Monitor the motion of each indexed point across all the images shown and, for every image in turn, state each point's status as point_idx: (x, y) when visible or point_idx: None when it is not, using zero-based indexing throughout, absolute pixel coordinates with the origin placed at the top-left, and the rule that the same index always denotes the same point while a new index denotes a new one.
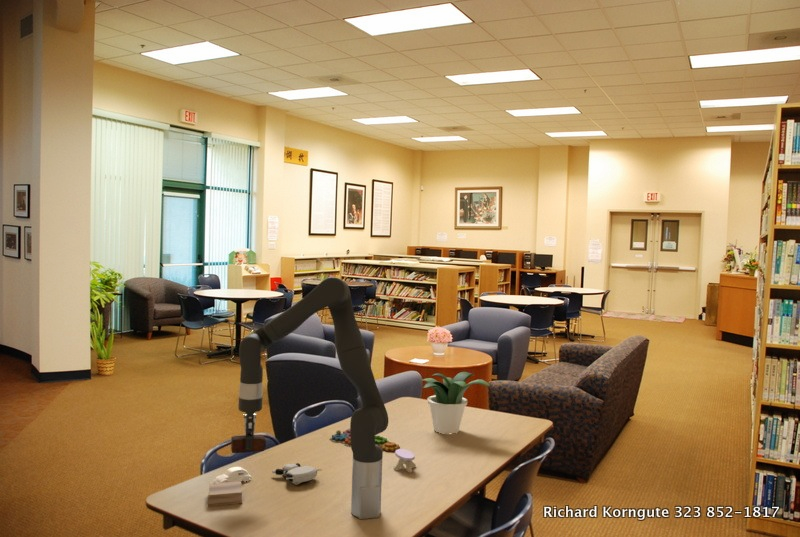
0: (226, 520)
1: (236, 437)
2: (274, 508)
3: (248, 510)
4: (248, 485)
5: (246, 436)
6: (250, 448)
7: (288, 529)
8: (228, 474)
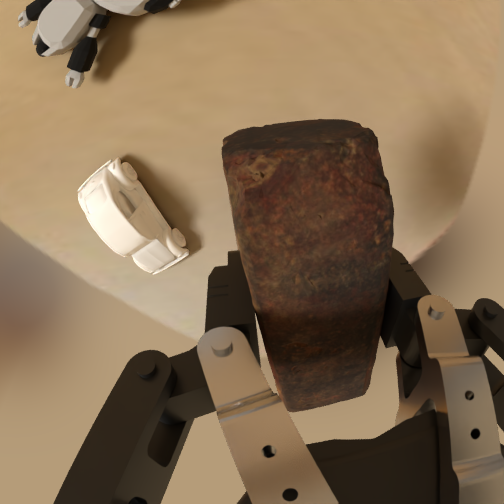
0: (423, 202)
1: (326, 395)
2: (387, 61)
3: (385, 143)
4: (168, 156)
5: (483, 359)
6: (395, 254)
7: (494, 60)
8: (146, 243)
